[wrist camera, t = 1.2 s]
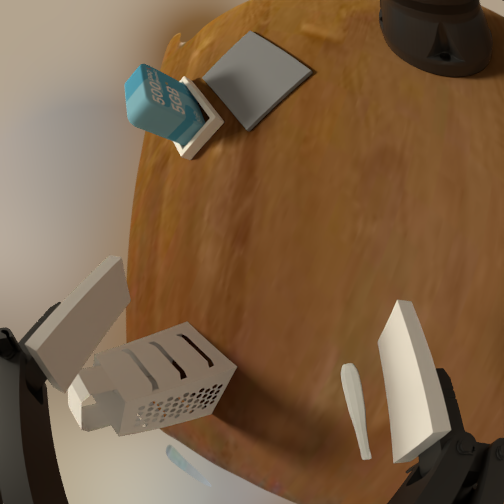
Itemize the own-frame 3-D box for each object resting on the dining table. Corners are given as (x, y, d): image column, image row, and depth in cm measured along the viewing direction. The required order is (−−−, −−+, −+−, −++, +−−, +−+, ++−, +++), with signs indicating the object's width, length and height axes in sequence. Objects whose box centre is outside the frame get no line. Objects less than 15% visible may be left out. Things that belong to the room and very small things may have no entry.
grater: (237, 366, 35) (98, 415, 18) (211, 413, 37) (96, 462, 21) (187, 321, 40) (58, 338, 24) (169, 370, 43) (58, 396, 26)
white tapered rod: (364, 360, 26) (337, 366, 27) (386, 522, 20) (365, 523, 21) (364, 359, 26) (338, 364, 28) (387, 519, 21) (367, 521, 22)
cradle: (191, 80, 44) (184, 76, 42) (224, 122, 38) (215, 117, 37) (165, 112, 47) (157, 109, 46) (190, 160, 42) (181, 156, 40)
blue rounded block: (209, 130, 40) (147, 101, 30) (190, 148, 42) (127, 124, 32) (192, 88, 43) (140, 60, 34) (175, 105, 46) (123, 80, 36)
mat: (252, 32, 37) (250, 30, 36) (312, 72, 30) (311, 70, 30) (204, 79, 42) (202, 77, 41) (249, 131, 36) (246, 130, 35)
